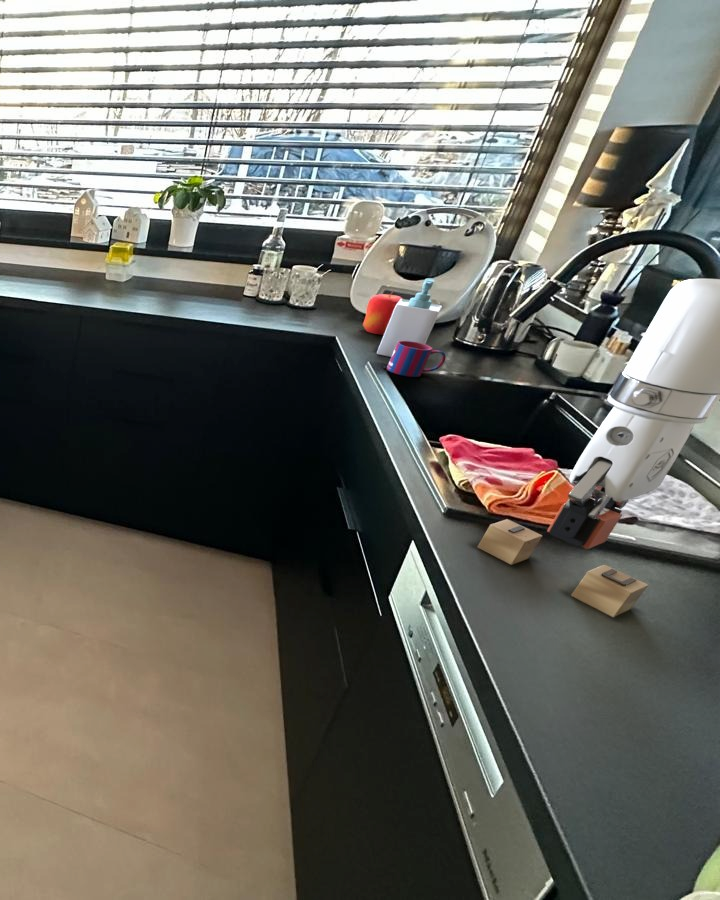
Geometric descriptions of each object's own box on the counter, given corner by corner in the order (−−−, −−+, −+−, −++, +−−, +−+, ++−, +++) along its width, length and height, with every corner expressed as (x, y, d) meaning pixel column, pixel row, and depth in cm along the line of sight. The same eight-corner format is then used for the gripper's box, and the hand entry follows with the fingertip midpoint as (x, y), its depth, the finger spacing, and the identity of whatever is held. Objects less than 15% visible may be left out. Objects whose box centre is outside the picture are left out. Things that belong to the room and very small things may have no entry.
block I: (475, 549, 84) (490, 523, 82) (493, 543, 85) (508, 517, 83) (510, 566, 81) (526, 540, 79) (527, 560, 82) (543, 534, 80)
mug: (384, 365, 151) (396, 338, 148) (434, 374, 147) (447, 347, 144) (387, 374, 146) (399, 346, 142) (439, 383, 142) (452, 354, 138)
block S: (546, 531, 77) (563, 502, 75) (563, 524, 78) (581, 496, 76) (587, 549, 74) (606, 519, 72) (604, 542, 75) (623, 513, 73)
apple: (387, 330, 180) (404, 289, 174) (398, 338, 173) (416, 296, 167) (354, 326, 182) (369, 285, 176) (363, 334, 175) (380, 292, 169)
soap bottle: (375, 354, 159) (406, 278, 150) (381, 346, 165) (410, 273, 156) (416, 362, 154) (450, 285, 145) (420, 354, 160) (453, 280, 151)
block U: (569, 597, 76) (588, 570, 74) (586, 589, 77) (605, 562, 75) (611, 619, 72) (632, 591, 70) (628, 610, 74) (649, 583, 72)
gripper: (672, 422, 61) (577, 569, 70) (746, 399, 68) (650, 538, 76) (577, 394, 68) (500, 533, 76) (653, 376, 74) (574, 507, 82)
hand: (576, 534), depth 76 cm, fingers closed on block S, 4 cm apart
